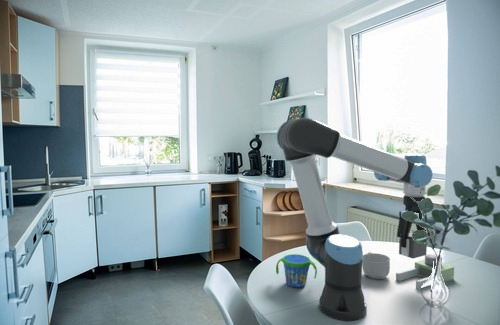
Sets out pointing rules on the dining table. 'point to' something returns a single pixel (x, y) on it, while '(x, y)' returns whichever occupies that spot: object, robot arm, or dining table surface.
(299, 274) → the snack cup
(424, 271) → the green and grey blocks
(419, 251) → the dark grey stepped block
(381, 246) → the dining table surface
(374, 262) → the teacup
